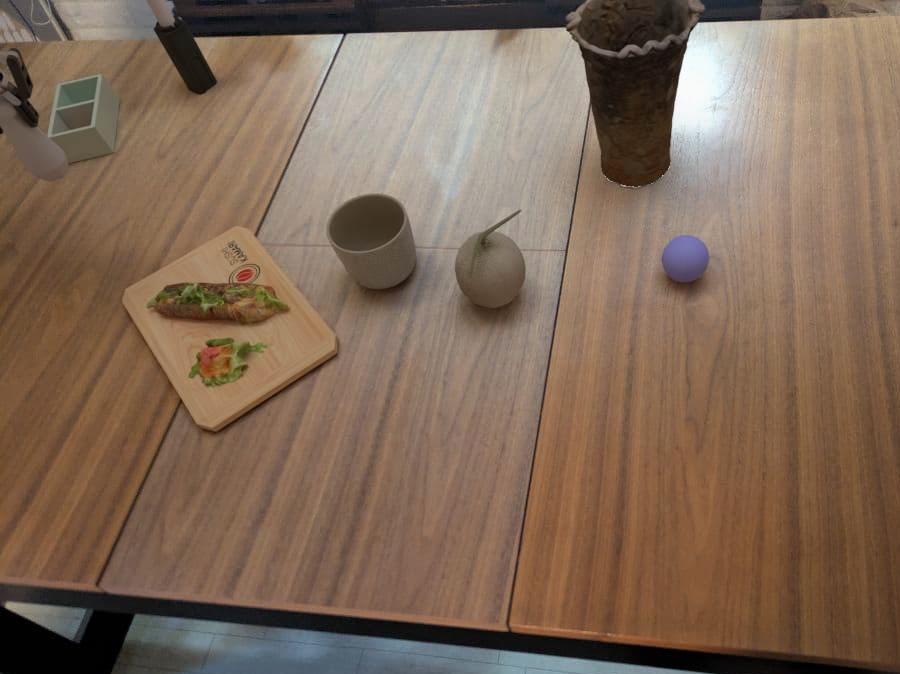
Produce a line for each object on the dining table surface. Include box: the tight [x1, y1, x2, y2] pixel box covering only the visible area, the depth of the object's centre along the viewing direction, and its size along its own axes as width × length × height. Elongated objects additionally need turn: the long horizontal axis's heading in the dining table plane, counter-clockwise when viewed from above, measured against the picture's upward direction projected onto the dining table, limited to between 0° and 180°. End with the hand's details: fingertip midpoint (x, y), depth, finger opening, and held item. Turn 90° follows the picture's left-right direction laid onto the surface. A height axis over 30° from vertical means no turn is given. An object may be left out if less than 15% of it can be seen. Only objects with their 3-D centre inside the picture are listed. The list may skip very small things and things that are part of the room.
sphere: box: [661, 234, 710, 283], centre depth 106 cm, size 7×7×7 cm
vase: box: [564, 0, 706, 187], centre depth 112 cm, size 18×18×27 cm
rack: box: [46, 73, 121, 165], centre depth 140 cm, size 9×17×6 cm, turn 14°
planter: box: [325, 192, 417, 290], centre depth 111 cm, size 12×12×11 cm
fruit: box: [454, 208, 527, 309], centre depth 104 cm, size 10×12×15 cm
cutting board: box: [121, 225, 339, 433], centre depth 109 cm, size 35×23×8 cm
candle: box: [145, 0, 218, 95], centre depth 136 cm, size 5×5×25 cm
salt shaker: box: [0, 94, 70, 183], centre depth 103 cm, size 6×6×13 cm
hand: (17, 127), depth 102 cm, fingers closed on salt shaker, 4 cm apart
